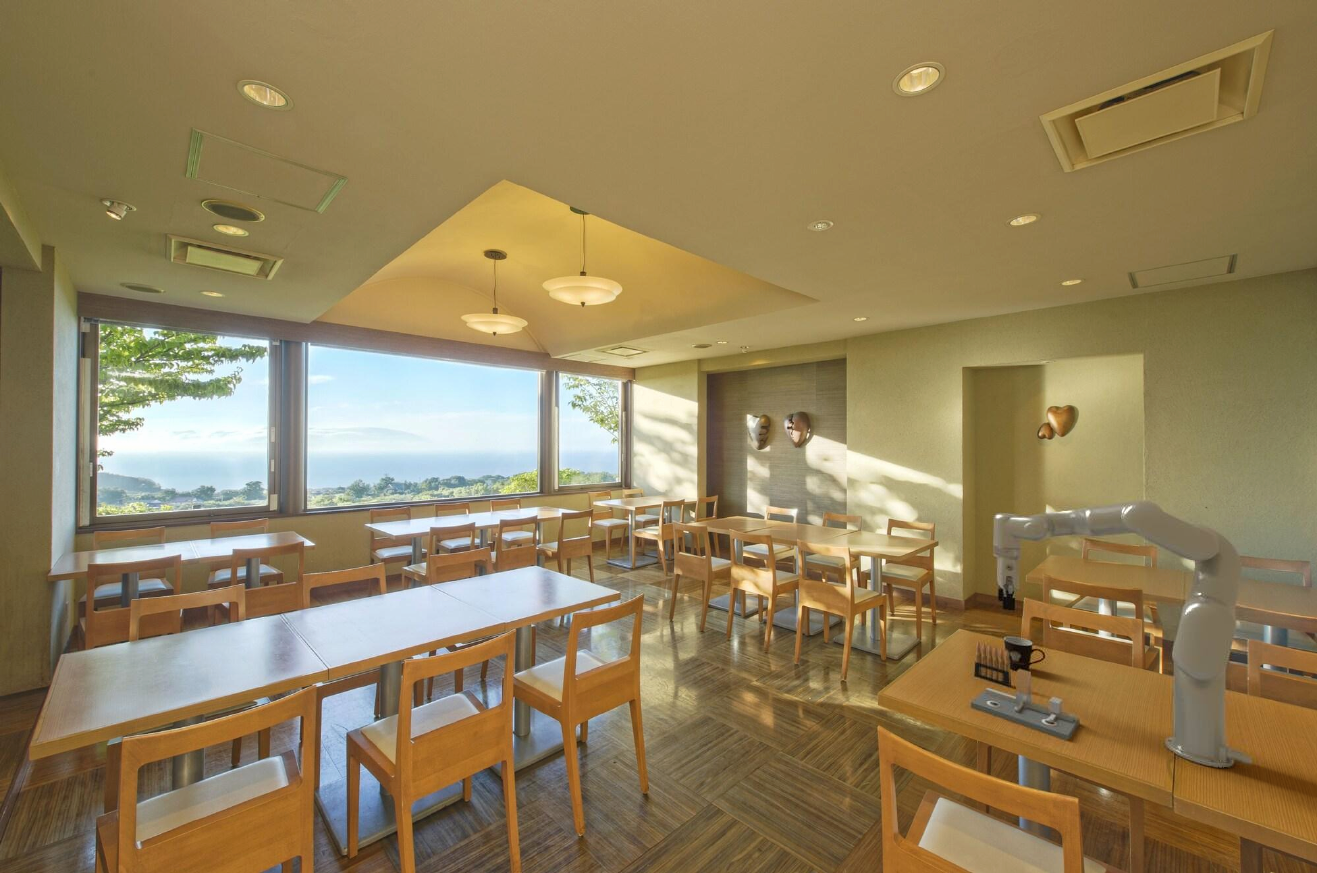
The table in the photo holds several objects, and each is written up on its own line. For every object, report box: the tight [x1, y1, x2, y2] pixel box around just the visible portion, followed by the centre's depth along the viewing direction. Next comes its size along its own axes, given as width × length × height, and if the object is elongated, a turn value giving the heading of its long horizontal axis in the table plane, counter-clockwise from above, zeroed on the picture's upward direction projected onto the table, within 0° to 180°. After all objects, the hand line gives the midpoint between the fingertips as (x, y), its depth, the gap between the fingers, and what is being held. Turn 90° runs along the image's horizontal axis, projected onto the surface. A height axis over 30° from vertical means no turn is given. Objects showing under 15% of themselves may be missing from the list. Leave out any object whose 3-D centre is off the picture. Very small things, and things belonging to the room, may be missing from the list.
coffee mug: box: [1003, 636, 1046, 672], centre depth 191 cm, size 12×9×10 cm
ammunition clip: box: [974, 641, 1012, 688], centre depth 182 cm, size 11×2×12 cm, turn 40°
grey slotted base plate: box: [970, 687, 1081, 742], centre depth 159 cm, size 24×14×6 cm, turn 41°
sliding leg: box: [1014, 669, 1032, 712], centre depth 160 cm, size 3×9×10 cm, turn 131°
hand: (1006, 605), depth 172 cm, fingers open, 9 cm apart
